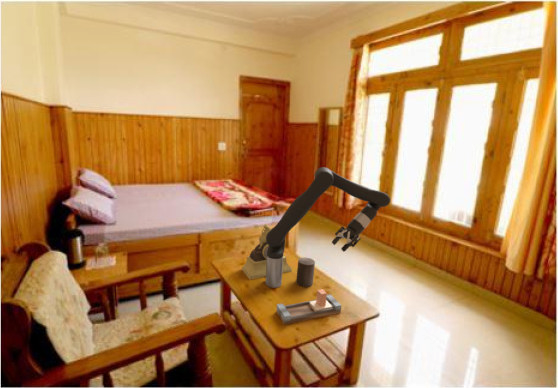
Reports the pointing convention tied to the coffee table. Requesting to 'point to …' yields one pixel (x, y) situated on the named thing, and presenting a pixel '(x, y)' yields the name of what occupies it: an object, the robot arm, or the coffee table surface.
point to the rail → (305, 311)
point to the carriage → (320, 301)
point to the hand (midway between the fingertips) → (337, 247)
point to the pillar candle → (305, 272)
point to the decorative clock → (261, 258)
